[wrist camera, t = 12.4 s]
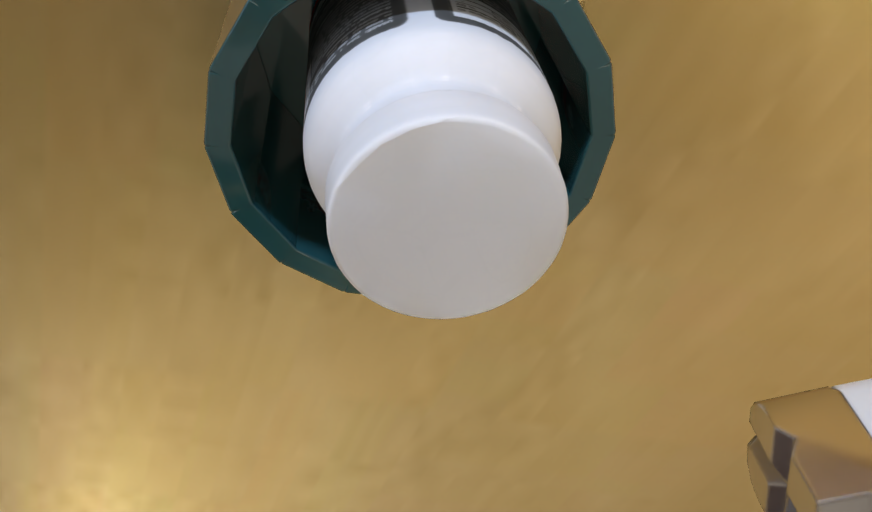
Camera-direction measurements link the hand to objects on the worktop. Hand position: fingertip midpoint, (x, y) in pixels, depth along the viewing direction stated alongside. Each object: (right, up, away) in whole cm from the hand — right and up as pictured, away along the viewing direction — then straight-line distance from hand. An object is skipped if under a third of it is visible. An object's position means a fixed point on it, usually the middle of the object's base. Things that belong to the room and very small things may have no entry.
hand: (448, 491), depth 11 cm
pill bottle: (-1, +10, +13) cm, 16 cm away
